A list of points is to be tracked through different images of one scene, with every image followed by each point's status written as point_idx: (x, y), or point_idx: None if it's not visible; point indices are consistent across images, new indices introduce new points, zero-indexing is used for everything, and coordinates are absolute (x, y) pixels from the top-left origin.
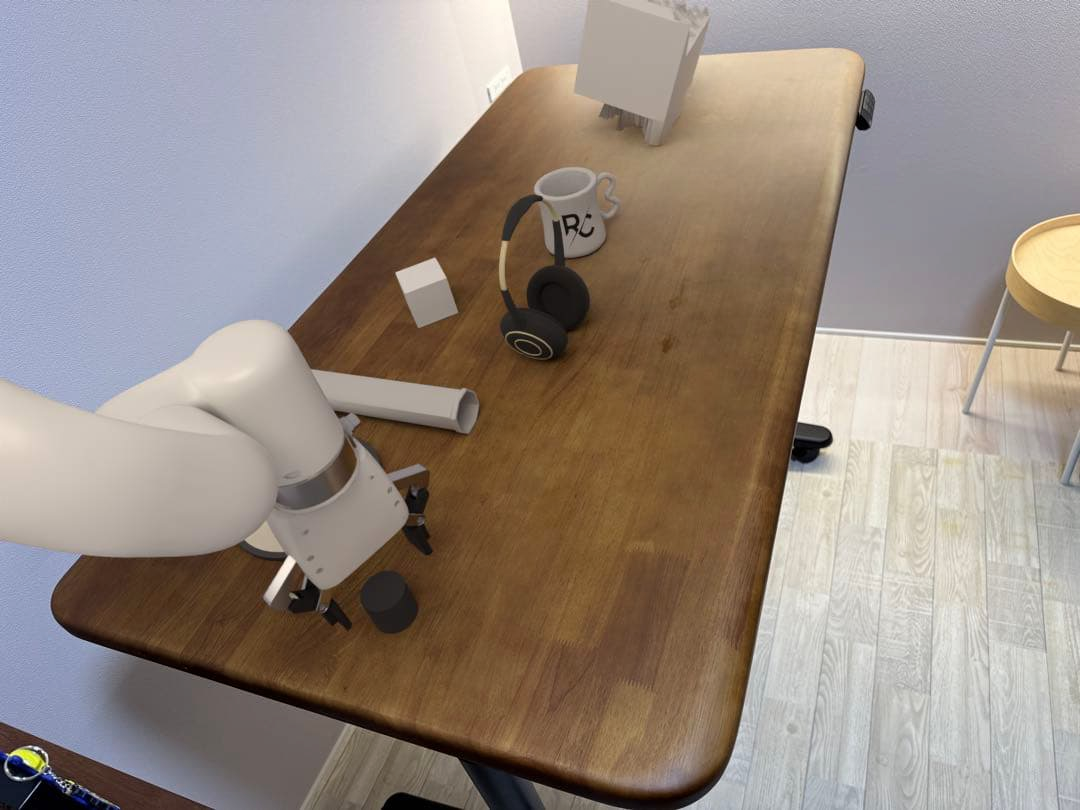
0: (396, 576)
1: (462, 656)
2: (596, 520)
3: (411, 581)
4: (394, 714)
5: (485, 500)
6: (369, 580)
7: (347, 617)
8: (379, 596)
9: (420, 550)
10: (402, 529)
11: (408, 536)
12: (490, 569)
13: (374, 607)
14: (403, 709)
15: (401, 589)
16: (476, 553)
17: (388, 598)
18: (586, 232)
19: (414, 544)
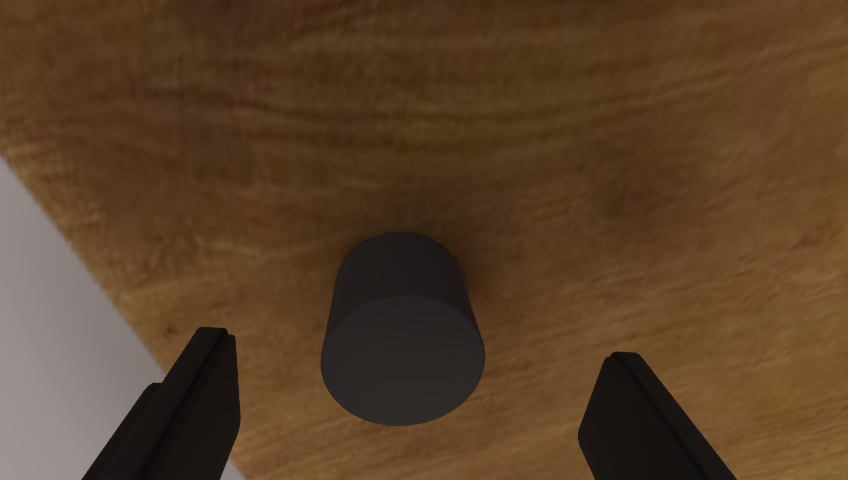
0: (471, 367)
1: (406, 461)
2: (788, 465)
3: (497, 254)
4: None
5: (810, 244)
6: (407, 305)
7: (219, 477)
8: (382, 373)
9: (589, 417)
10: (651, 423)
11: (627, 424)
12: None
13: (342, 389)
14: (245, 452)
15: (442, 406)
16: (640, 333)
17: (394, 400)
18: None
19: (603, 406)
